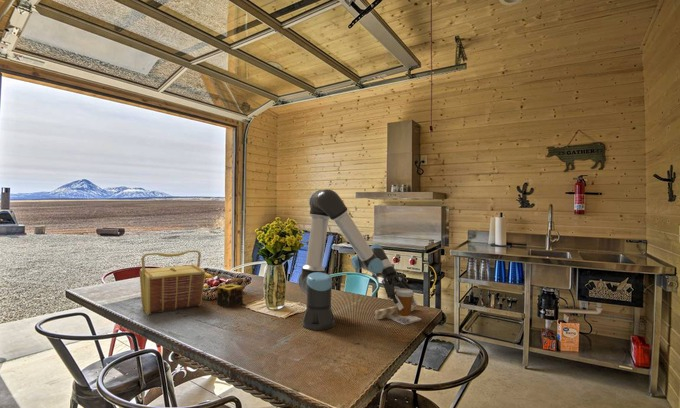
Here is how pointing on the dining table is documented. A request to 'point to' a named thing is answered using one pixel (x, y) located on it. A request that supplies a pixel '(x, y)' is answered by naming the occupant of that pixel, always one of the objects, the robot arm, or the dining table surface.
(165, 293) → the picnic basket
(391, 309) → the jamb strip
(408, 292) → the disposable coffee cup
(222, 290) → the candle
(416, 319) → the white napkin
